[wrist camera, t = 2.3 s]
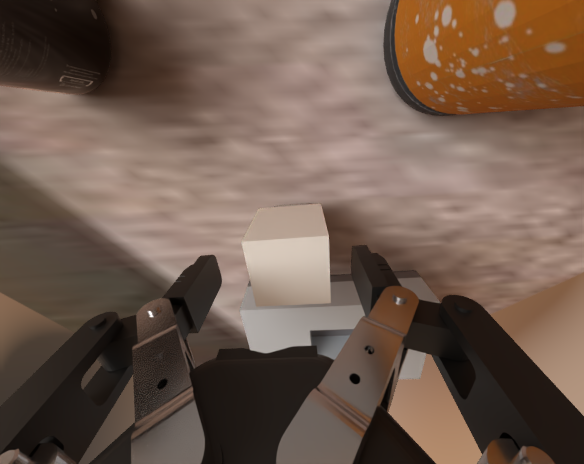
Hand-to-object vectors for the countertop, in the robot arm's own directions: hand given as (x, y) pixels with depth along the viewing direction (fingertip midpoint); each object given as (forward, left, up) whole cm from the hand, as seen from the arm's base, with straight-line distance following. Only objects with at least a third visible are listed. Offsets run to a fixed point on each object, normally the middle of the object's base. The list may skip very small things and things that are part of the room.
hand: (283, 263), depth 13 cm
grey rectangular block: (-3, +11, -7) cm, 13 cm away
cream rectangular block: (0, 0, -7) cm, 7 cm away
